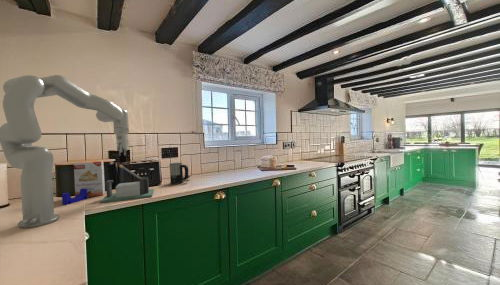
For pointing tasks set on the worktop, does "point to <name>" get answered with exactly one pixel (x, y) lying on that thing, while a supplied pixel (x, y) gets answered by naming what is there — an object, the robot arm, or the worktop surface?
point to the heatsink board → (113, 198)
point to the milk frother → (178, 173)
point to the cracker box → (89, 178)
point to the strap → (129, 171)
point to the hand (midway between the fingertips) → (123, 162)
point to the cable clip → (68, 200)
